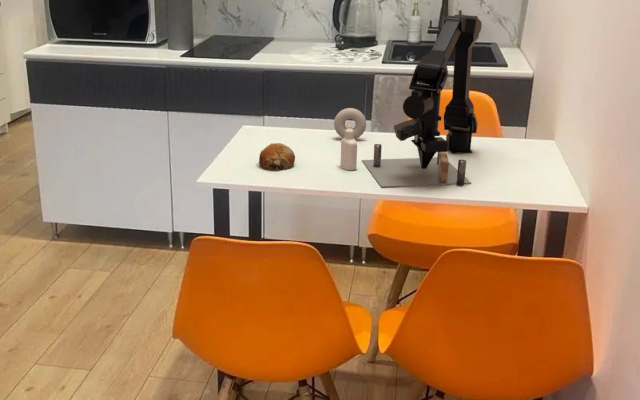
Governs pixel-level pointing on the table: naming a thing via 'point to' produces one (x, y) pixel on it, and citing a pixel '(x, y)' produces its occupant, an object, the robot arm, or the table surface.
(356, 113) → the donut
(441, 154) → the gate
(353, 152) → the eye dropper bottle
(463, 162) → the gate posts
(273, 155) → the bread roll
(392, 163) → the mat
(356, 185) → the table surface
